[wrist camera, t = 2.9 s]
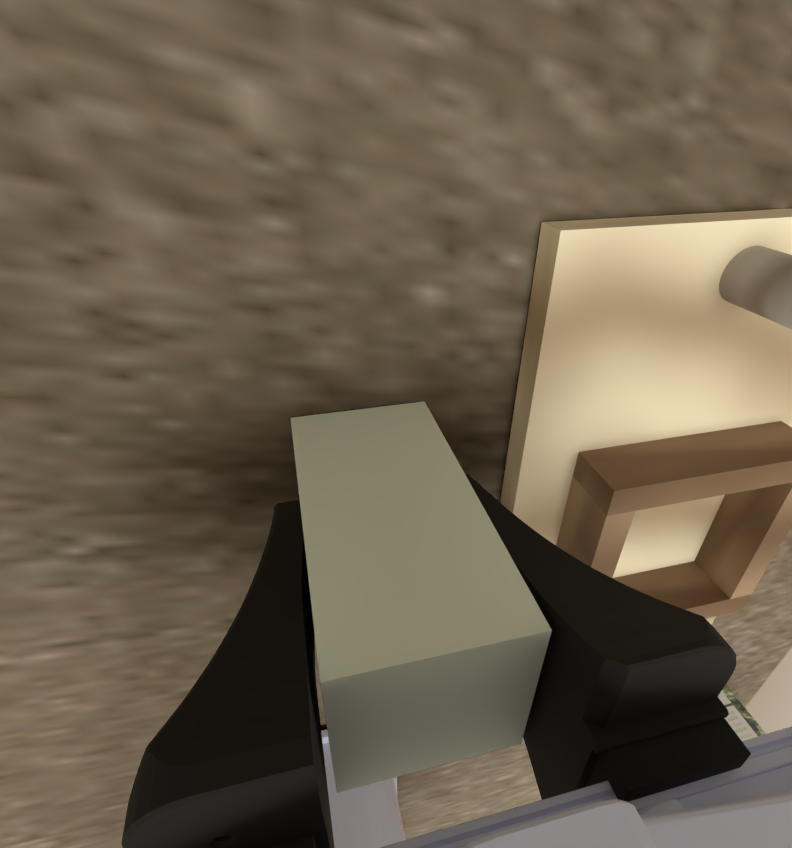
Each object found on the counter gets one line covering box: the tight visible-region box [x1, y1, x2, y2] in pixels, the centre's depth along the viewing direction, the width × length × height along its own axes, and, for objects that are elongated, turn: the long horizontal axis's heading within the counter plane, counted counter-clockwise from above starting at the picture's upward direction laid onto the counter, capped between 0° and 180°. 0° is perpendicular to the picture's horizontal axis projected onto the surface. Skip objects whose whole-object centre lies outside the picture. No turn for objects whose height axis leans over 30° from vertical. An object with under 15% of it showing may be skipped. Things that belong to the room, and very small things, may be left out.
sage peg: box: [290, 401, 552, 793], centre depth 13 cm, size 4×4×8 cm
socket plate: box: [500, 208, 792, 624], centre depth 19 cm, size 22×12×4 cm, turn 0°
